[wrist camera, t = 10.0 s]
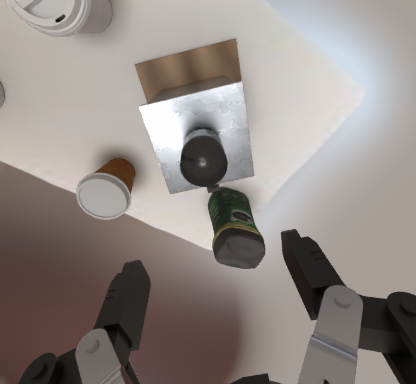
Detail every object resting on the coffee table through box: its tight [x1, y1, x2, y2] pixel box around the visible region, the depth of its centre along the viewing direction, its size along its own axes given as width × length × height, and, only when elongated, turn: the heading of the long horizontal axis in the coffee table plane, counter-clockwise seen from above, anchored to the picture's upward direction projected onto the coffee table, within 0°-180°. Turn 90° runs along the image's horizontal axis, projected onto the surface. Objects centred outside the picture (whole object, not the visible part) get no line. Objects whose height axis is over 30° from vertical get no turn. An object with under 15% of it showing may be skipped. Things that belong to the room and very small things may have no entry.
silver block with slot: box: [139, 75, 254, 194], centre depth 38 cm, size 12×15×18 cm
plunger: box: [180, 129, 228, 187], centre depth 32 cm, size 8×8×20 cm
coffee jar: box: [208, 188, 265, 269], centre depth 49 cm, size 10×8×19 cm
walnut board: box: [135, 39, 241, 103], centre depth 45 cm, size 18×22×1 cm
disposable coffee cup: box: [76, 159, 135, 220], centre depth 46 cm, size 10×10×12 cm
